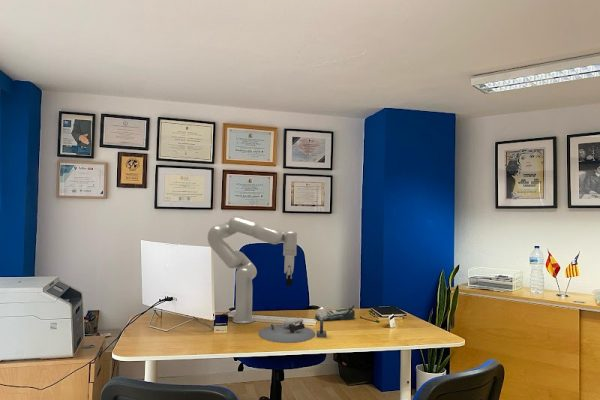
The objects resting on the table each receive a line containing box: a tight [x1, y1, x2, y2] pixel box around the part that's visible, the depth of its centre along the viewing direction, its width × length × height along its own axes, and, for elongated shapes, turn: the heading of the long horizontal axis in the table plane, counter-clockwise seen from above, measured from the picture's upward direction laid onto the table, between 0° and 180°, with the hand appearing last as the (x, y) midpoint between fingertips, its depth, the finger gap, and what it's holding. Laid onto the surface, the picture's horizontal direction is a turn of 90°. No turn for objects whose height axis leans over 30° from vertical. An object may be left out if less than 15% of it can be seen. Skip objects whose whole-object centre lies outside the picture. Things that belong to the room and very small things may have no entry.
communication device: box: [314, 305, 356, 322], centre depth 244 cm, size 12×24×9 cm, turn 108°
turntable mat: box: [257, 324, 316, 344], centre depth 212 cm, size 30×30×1 cm
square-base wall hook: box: [315, 307, 329, 339], centre depth 209 cm, size 6×5×15 cm
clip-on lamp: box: [270, 317, 306, 333], centre depth 217 cm, size 12×6×18 cm
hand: (289, 284), depth 230 cm, fingers open, 3 cm apart
